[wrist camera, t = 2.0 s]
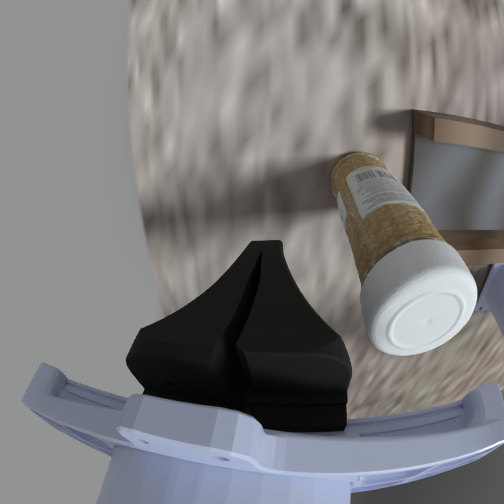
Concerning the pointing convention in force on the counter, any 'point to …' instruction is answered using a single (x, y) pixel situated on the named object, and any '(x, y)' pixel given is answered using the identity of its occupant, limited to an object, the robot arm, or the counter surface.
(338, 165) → the sprinkles bottle
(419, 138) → the cradle
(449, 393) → the counter surface
